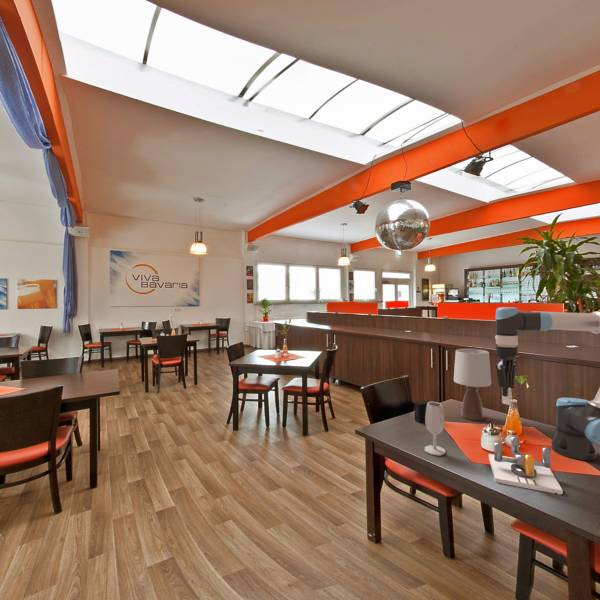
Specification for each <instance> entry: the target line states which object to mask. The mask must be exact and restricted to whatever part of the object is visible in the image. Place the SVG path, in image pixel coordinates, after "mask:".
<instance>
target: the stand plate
mask: <svg viewBox="0 0 600 600" xmlns="http://www.w3.org/2000/svg"><path fill="white" fill-rule="evenodd" d="M502 457H506V458H513V457H511V456H510V457H509V456H505V455H504V456H503V455H502ZM488 460H489V463H490V468H491V471H492V475H493V480H494V483H496V484H504V485H508V486H512V487H519V488H525V489H530V490H534V491H541V492H544V493H545V492H546V493H551V494H555V493H557V494H556V495H561V494H564V493H563V492H564V490H563V488H562V487H561V485H560V483H559V481H558V480H557V479H556V477H555V475H554V474H553V472H552V470H551V468H546V467H542V466H534V469H535V470H536V471H537V476H536V477H534V478H527V477H522V476H519V475H517V474H515V473H514V472H512V471H511V465H512V464H515V463H509V462H497V461H495V460H494V454H492V453H488Z"/></svg>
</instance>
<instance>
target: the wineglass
mask: <svg viewBox="0 0 600 600" xmlns="http://www.w3.org/2000/svg"><path fill="white" fill-rule="evenodd" d="M444 413H445V412H444V407H443V406H442V403H440V402H436V401H431V402H428V404H427V407H426V413H425V422H424V423H425V427H426V430H427V431H428V432H429V433H430V434H432V444H429V445H426V446H424V452H425V453H427V454H429V455H431V456H438V457H441V456H443V455H444V456H445V454H446V450H445V448H443V447H441V446H439V445H437V435H439V434H440V433H441V432H443V431H444V427H445V415H444Z"/></svg>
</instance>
